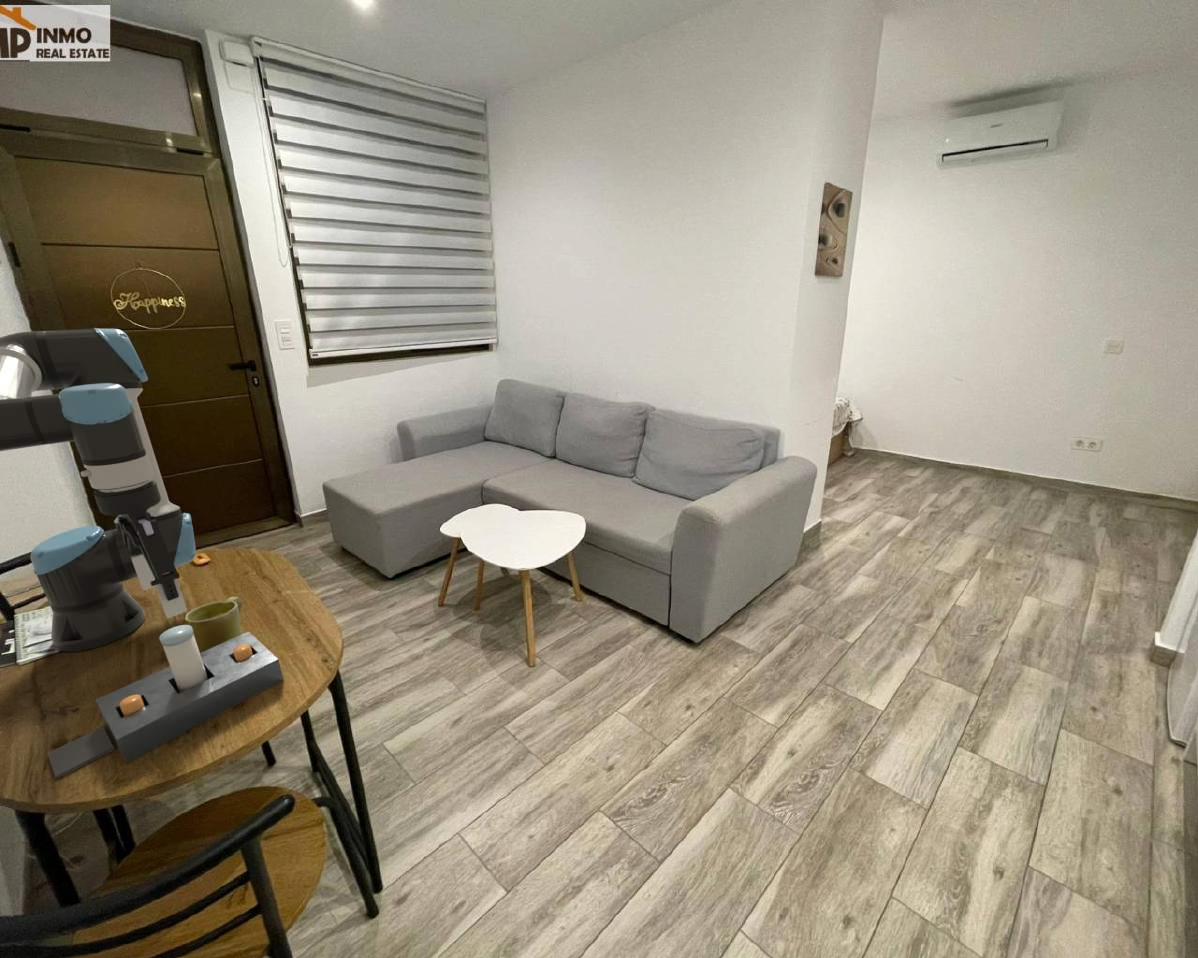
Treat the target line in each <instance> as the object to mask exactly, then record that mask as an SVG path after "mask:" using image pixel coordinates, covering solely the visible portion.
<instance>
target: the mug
mask: <svg viewBox="0 0 1198 958" xmlns="http://www.w3.org/2000/svg"><path fill="white" fill-rule="evenodd" d="M242 608H243V601H242V600H241V599H240V598H239V597H238V596H231V597H228V598H226V600H225V601H216V602H211V603H206V604H203V605H200V606H198V607H196V608H194V609H192V610H190V611H188V612H187V613H186V614H185V617H184V618H185V619H184V620H185V621H184V622H185V625H190V626H191V627H192V629H193V632H194V637H195V640H196V643H197V646H198V649H199V652H200V653H201V652H204V651H206V650H208V649H210V648H213V647H215V646H217V645H219V644H222V643H224V642H226V641H228V640H231V639H233V638H235V637H237V636H240V635H242V634H244V633H243V630H242V627H241V617H240V616H241V613H242Z"/></svg>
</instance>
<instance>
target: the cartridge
mask: <svg viewBox="0 0 1198 958" xmlns="http://www.w3.org/2000/svg"><path fill="white" fill-rule="evenodd" d="M158 638H159V641H160V642H159V643H160V644H161V645H162V648H163V651H164V653H165V655H166V656H165V657H166V659H167V662H168V665H169V667H171V670H172V673H173V676H174V678H175V681H176V684H177V687H178V690H179V692H180V693H181V692H184V691H186V690H188V689H190V688H192V687H194V686H196V685H198V684H200V683H202V682H204V681H206V680H208V677H207V674H206V671H205V668H204V665H203V662H202V659H201V655H200V652H199V649H198V646H197V643H196V640H195V637H194V632H193V629H192V627H191V626H190V625H186V624H181V625H177V626H173V627H170V628H169V629H167V630H165V631H164V632H163V633H161V634H160V636H159V637H158Z"/></svg>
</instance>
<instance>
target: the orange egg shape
mask: <svg viewBox="0 0 1198 958" xmlns="http://www.w3.org/2000/svg"><path fill="white" fill-rule="evenodd" d="M233 652H234V656H235V659H236V662H237V663H238V662H240V661H242V660H244V659H246V658H248V657H250V656H252V655H253V653H252V650H251V646H250V645H249V644H243V645H240V646H238V647H236V648H235V649H234V651H233Z"/></svg>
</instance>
